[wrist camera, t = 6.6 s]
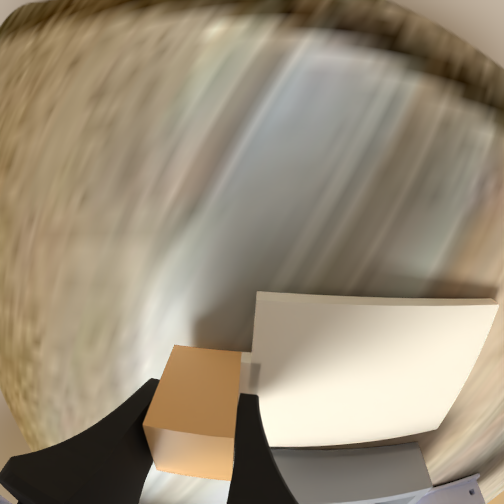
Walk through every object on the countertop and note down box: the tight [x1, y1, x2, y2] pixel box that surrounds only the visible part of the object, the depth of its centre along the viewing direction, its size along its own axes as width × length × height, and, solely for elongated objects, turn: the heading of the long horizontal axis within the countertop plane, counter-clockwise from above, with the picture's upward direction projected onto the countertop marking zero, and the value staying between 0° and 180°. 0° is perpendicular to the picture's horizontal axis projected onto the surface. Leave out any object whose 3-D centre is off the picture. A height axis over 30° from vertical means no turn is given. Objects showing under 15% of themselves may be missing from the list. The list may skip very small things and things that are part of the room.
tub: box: [270, 442, 433, 504], centre depth 14 cm, size 11×8×4 cm
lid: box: [143, 291, 499, 481], centre depth 10 cm, size 15×9×4 cm, turn 86°
